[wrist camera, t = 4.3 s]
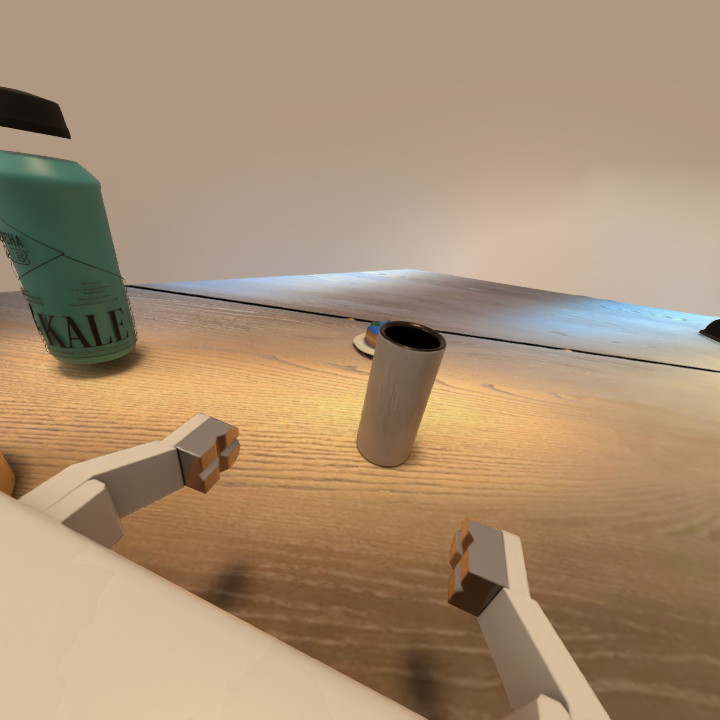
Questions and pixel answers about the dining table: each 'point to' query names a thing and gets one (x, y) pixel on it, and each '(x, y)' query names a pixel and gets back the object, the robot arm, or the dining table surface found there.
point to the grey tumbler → (398, 390)
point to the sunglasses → (712, 330)
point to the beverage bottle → (61, 242)
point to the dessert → (369, 338)
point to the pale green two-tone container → (6, 477)
